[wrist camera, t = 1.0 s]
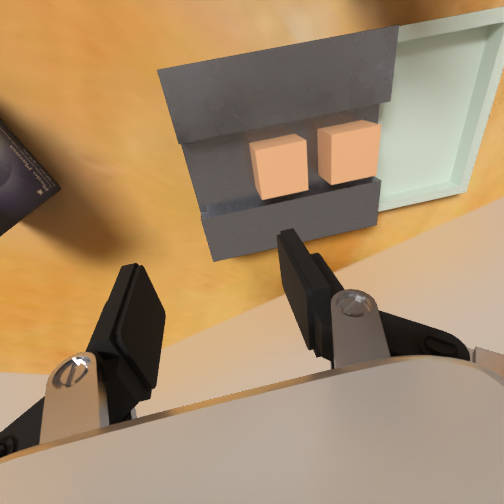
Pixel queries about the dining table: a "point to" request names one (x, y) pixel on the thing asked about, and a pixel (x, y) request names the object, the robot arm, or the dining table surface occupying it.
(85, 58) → the dining table surface
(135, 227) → the dining table surface
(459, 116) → the tray
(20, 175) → the small box
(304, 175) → the chip
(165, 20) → the dining table surface
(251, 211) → the slot block
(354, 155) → the chip
